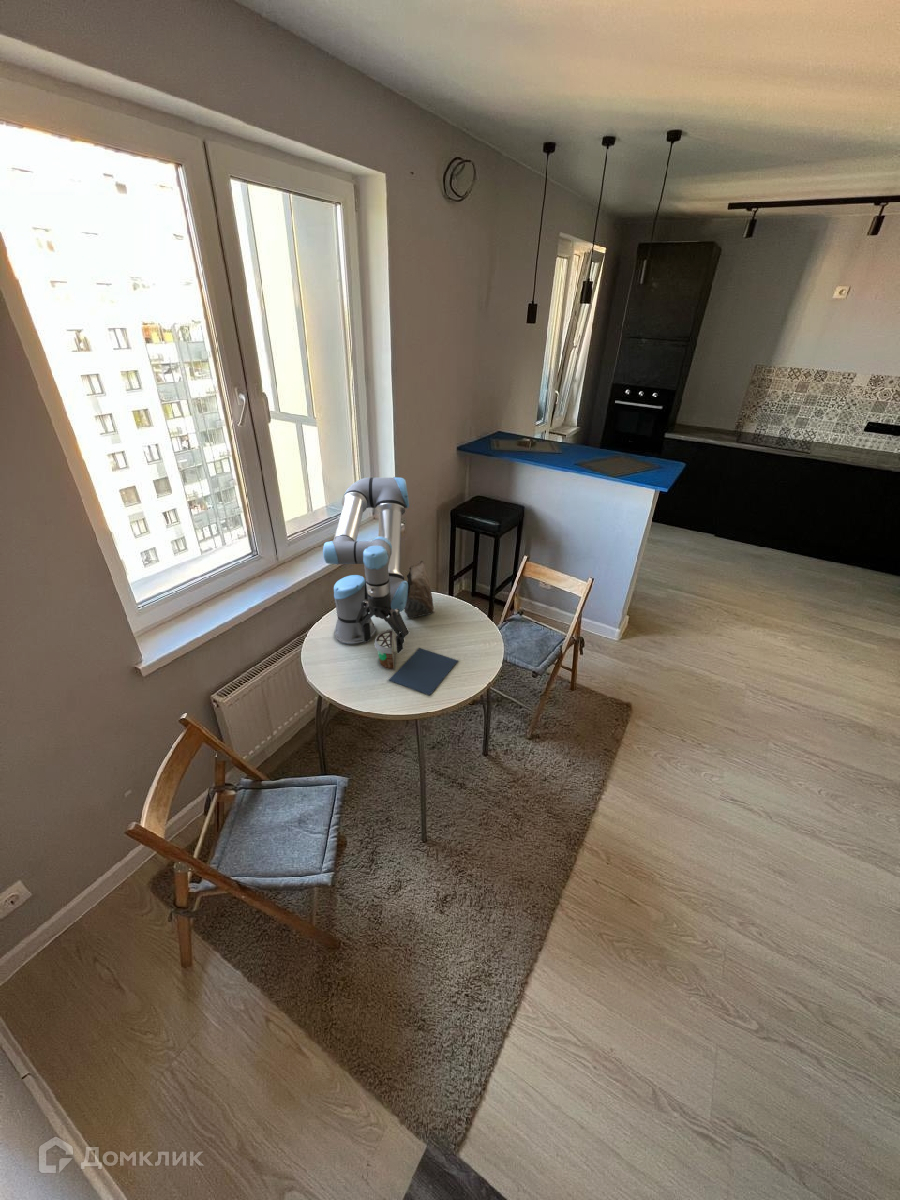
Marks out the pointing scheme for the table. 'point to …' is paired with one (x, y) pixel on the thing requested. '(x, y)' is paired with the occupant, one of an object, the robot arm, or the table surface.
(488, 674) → the table surface
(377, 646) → the food container
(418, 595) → the brown tall lump
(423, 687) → the mat
